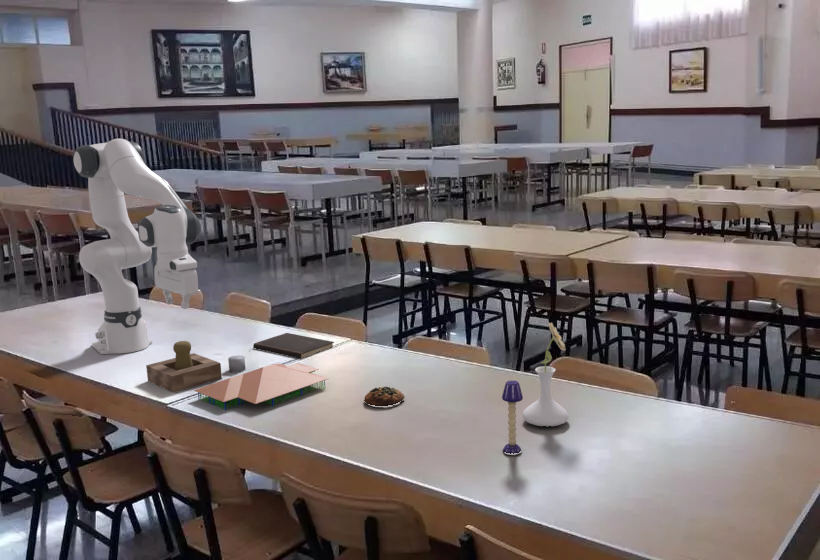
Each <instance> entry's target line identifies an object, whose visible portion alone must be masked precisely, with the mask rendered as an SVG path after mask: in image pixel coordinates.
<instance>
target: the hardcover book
mask: <svg viewBox="0 0 820 560" xmlns="http://www.w3.org/2000/svg"><path fill="white" fill-rule="evenodd" d="M334 343H335V342H334V341H332V340H331V341H330V340H326V339H320V338H315V337H310V336H306V335H299V334H295V333H289V332H285V333H281V334H279V335H276V336H273V337H269V338H266V339H263V340H259V341H256V342H255V343H253V349H254V348H256V349H255V350H258V349H260V351H263V350H264V351H263V352H267V351H268V352H269V353H272V352H273V354H277V353H278V355H281V354H283V355H282V356H286V355H288V356H287V357H290V356H292V357H291V358H295V357H296V358H295V359H299V358H301V359H303V357H304V358H306V357H305V356H307V357H308V355H309V356H311V354H312V355H314V353H315V354H316V352H318V353H319V351H320V352H323V351H325V349H326V350H328V349H327V348H329V349H330V347H331V348H333V347H334V346H333V344H334ZM322 350H323V351H322ZM268 352H267V353H268Z"/></svg>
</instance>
